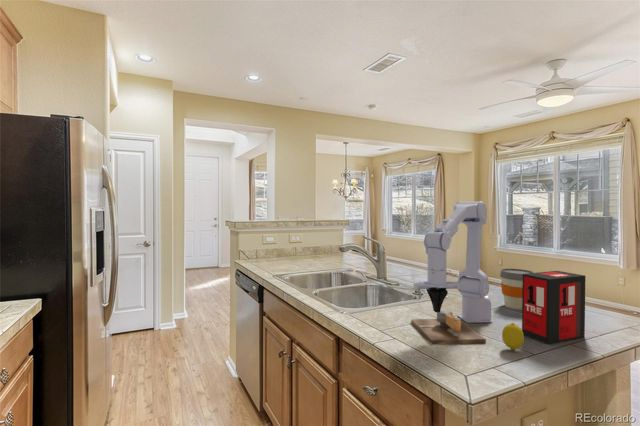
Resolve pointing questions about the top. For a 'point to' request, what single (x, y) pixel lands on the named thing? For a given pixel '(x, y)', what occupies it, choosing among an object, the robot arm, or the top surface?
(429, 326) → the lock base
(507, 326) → the lemon
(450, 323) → the orange and grey bar
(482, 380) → the top surface
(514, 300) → the reusable coffee cup
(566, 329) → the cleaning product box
